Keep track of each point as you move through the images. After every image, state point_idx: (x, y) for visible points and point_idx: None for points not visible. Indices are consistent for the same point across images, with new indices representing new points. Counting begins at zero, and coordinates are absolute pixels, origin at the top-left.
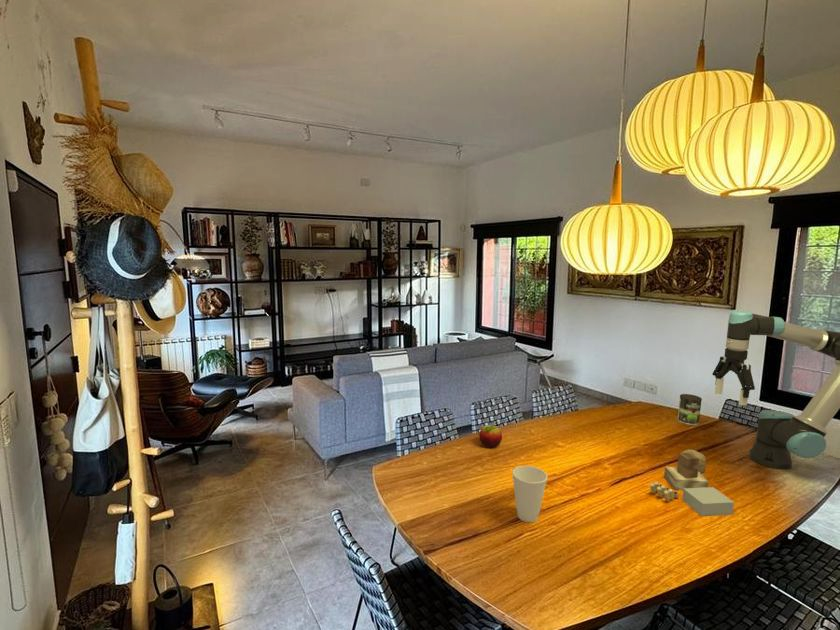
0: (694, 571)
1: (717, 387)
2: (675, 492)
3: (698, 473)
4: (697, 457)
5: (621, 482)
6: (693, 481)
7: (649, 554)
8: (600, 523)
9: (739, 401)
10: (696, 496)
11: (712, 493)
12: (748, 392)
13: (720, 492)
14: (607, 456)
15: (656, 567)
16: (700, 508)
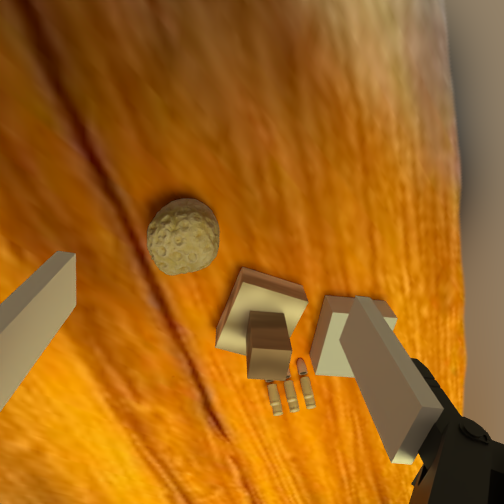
0: None
1: (46, 339)
2: (302, 373)
3: (266, 294)
4: (285, 352)
5: (219, 417)
6: (292, 329)
7: (402, 475)
8: (322, 494)
9: (351, 360)
10: (349, 372)
11: None
12: (450, 414)
13: None
14: (97, 385)
15: None
16: None
